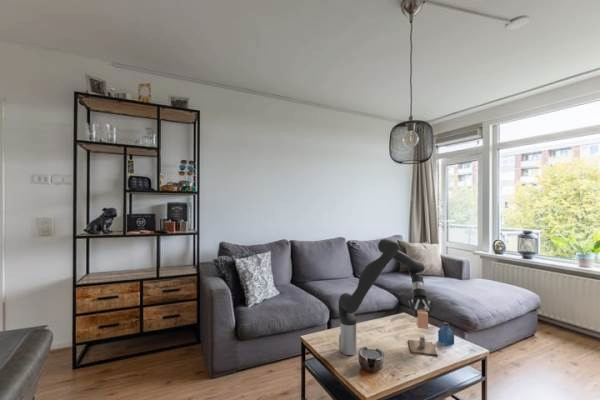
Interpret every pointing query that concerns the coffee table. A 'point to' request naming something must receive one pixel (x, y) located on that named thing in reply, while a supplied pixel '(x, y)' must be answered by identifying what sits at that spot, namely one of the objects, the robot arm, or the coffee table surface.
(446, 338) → the perfume bottle
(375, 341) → the coffee table surface
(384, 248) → the robot arm
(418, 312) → the salmon orange block
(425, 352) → the walnut post board
